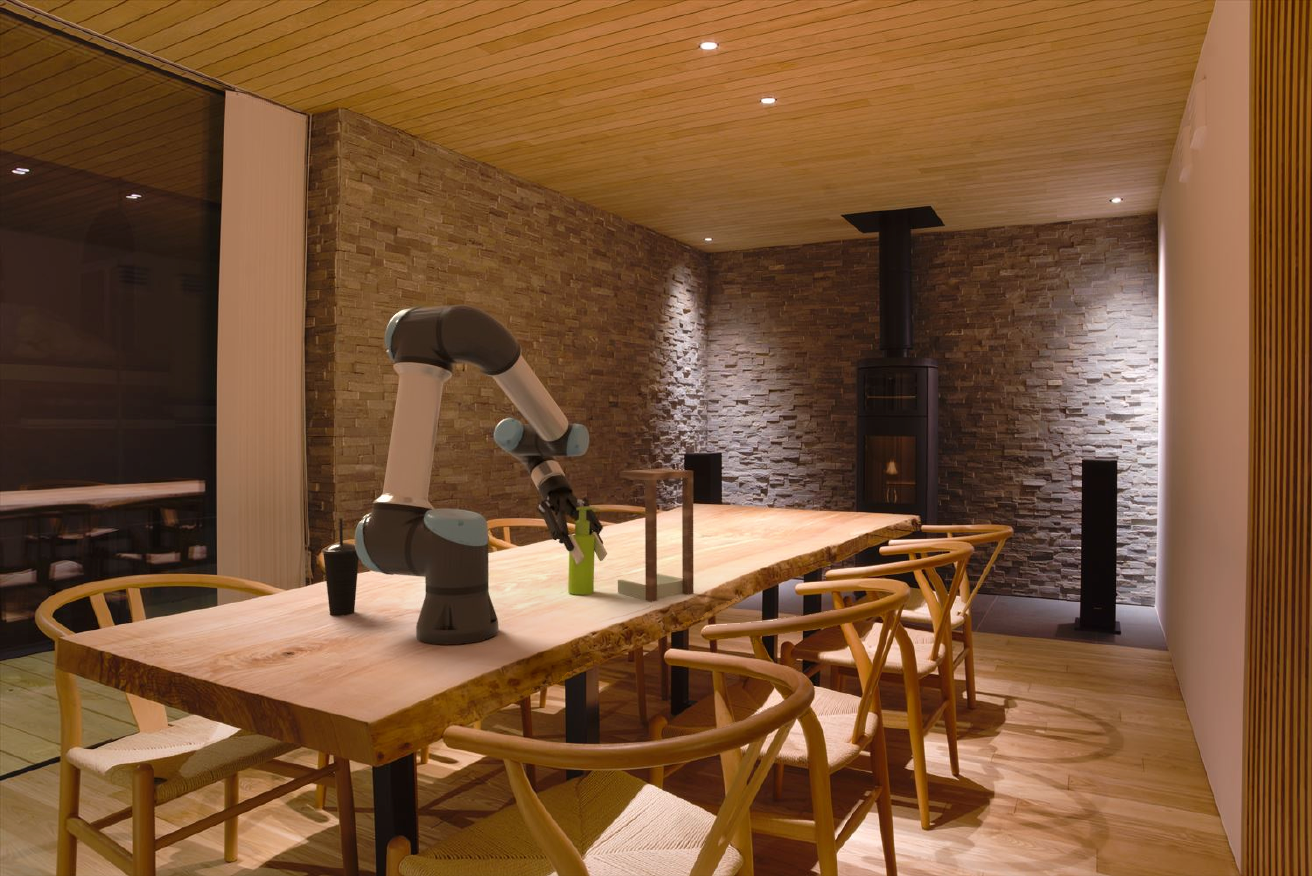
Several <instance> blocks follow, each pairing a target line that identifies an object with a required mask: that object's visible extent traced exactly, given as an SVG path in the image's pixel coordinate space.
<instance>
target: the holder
mask: <svg viewBox="0 0 1312 876" xmlns="http://www.w3.org/2000/svg"><path fill="white" fill-rule="evenodd" d="M617 593H618V594H621V595H624V596H628V597H632V598H636V599H640V600H643V601H646V584H643V583H640V582H639V583H638V582H634V581H631V580H625V579H618V580H617ZM682 594H683V581H682V578H680V577H676V576H672V575H668V574H663V573H657V599H660V598H665V597H666V598H667V597H671V596H675V595H682Z"/></svg>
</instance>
